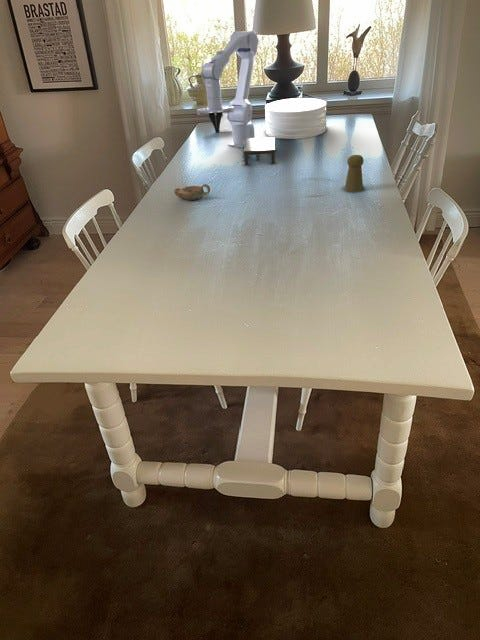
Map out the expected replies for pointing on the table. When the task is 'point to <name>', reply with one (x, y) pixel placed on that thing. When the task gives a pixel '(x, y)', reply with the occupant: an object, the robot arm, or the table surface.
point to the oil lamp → (191, 192)
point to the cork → (354, 173)
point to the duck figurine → (225, 124)
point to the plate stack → (296, 118)
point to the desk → (259, 148)
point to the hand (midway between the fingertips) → (217, 132)
